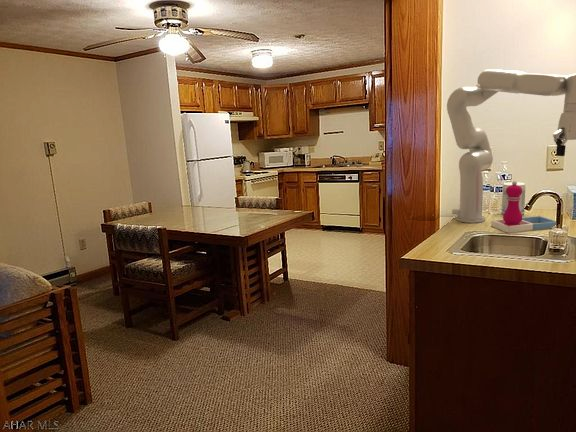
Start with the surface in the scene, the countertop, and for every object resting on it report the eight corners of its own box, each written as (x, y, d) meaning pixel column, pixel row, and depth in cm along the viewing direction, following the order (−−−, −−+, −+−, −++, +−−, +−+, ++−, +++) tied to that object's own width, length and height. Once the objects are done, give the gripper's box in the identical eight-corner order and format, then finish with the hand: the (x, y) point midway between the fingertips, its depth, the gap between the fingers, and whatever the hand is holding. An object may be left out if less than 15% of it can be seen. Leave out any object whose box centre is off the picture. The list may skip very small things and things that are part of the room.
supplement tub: (514, 210, 208) (515, 181, 205) (529, 214, 199) (530, 183, 196) (497, 213, 206) (498, 183, 203) (511, 216, 197) (512, 185, 194)
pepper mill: (524, 230, 175) (527, 182, 170) (505, 230, 176) (507, 182, 172) (518, 225, 181) (521, 179, 177) (500, 225, 183) (502, 180, 179)
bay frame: (507, 232, 173) (507, 226, 172) (491, 225, 184) (491, 220, 183) (558, 227, 175) (559, 221, 174) (539, 221, 186) (539, 216, 185)
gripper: (584, 107, 162) (579, 152, 166) (548, 109, 158) (543, 155, 162) (603, 107, 155) (597, 154, 159) (565, 109, 150) (560, 157, 155)
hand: (570, 154), depth 160 cm, fingers open, 9 cm apart
